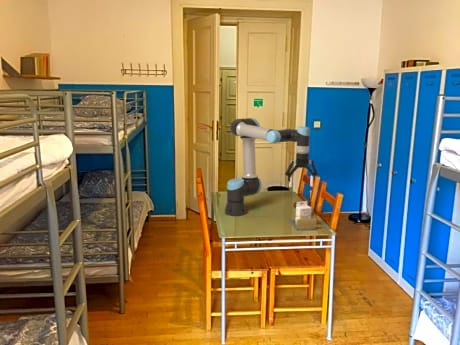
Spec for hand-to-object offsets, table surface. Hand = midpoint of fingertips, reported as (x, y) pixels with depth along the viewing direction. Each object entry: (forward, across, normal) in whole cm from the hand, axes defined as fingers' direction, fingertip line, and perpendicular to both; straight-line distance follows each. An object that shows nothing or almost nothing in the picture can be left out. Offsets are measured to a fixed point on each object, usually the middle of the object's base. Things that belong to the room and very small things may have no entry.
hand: (300, 186), depth 250 cm
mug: (+25, +8, +20) cm, 33 cm away
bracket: (+25, +1, -2) cm, 25 cm away
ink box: (+24, +2, -4) cm, 25 cm away
